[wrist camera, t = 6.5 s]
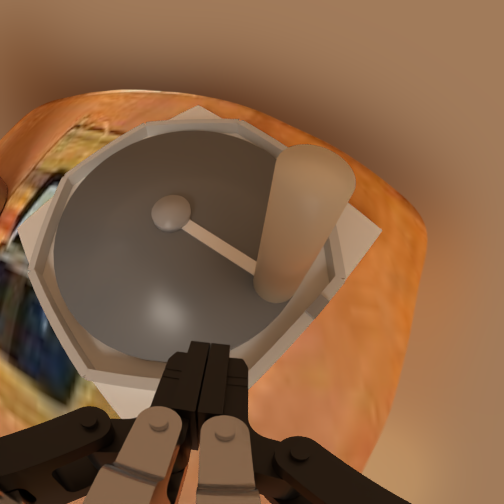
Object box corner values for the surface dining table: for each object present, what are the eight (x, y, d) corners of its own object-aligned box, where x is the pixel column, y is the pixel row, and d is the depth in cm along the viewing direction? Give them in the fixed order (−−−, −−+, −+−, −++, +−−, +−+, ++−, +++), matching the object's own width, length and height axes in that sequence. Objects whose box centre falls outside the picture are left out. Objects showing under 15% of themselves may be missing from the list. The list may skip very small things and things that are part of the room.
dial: (26, 251, 17) (-45, 171, 8) (172, 118, 25) (162, 28, 16) (201, 426, 13) (153, 482, 4) (347, 203, 21) (400, 98, 12)
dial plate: (25, 237, 19) (9, 220, 16) (198, 116, 27) (197, 94, 25) (168, 457, 13) (157, 468, 10) (374, 240, 21) (390, 220, 19)
